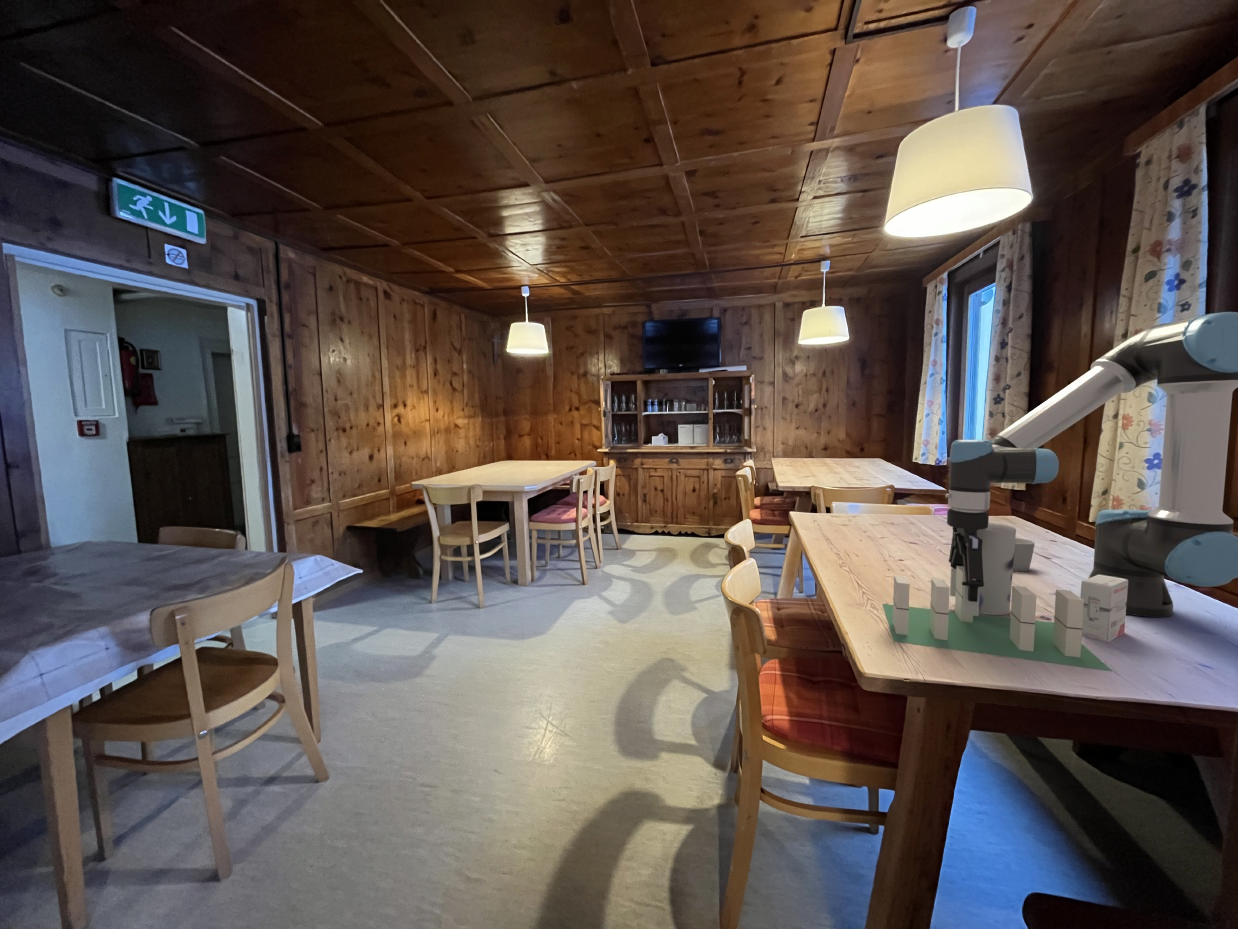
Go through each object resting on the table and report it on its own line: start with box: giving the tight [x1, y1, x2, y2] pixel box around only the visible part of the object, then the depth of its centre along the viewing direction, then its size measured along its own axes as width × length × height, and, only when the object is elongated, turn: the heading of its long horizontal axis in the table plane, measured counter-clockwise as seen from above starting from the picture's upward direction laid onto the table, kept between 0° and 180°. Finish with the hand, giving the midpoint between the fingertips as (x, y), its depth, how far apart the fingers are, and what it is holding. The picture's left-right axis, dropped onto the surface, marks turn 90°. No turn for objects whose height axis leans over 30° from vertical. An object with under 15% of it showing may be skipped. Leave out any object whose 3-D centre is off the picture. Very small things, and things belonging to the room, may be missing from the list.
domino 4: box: [1010, 585, 1037, 651], centre depth 97 cm, size 2×6×11 cm, turn 157°
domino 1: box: [892, 574, 911, 635], centre depth 105 cm, size 2×6×11 cm, turn 157°
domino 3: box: [954, 566, 975, 622], centre depth 111 cm, size 2×6×11 cm, turn 157°
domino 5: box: [1053, 589, 1084, 658], centre depth 94 cm, size 2×6×11 cm, turn 157°
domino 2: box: [929, 578, 950, 640], centre depth 102 cm, size 2×6×11 cm, turn 157°
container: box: [975, 521, 1017, 616], centre depth 116 cm, size 10×10×20 cm
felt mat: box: [882, 603, 1113, 672], centre depth 103 cm, size 34×22×1 cm, turn 67°
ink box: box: [1080, 575, 1128, 643], centre depth 101 cm, size 9×5×12 cm, turn 118°
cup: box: [1013, 537, 1036, 572], centre depth 145 cm, size 8×10×8 cm
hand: (963, 605), depth 111 cm, fingers open, 11 cm apart
